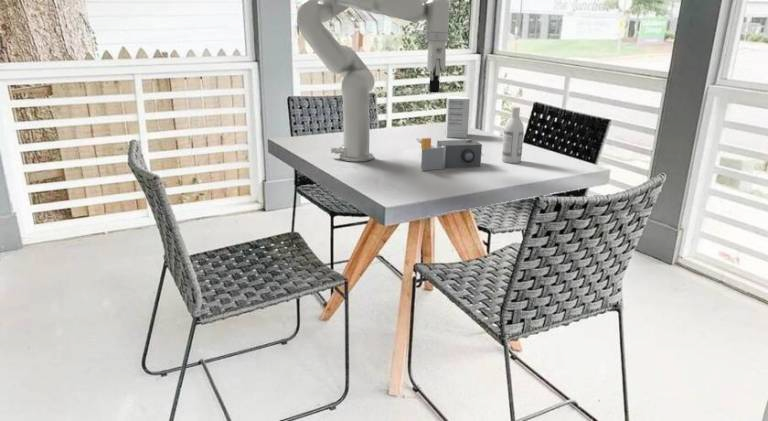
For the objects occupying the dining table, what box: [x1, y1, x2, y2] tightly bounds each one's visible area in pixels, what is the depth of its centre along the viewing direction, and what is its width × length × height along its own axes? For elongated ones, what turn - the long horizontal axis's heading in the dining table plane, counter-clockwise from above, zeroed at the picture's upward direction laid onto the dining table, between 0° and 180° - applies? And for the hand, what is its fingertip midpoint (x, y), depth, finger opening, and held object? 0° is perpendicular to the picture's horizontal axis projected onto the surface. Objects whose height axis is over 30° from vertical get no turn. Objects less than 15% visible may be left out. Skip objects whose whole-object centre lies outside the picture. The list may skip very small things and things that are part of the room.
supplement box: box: [444, 95, 471, 139], centre depth 258 cm, size 10×9×17 cm
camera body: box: [436, 138, 483, 169], centre depth 211 cm, size 14×10×9 cm
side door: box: [420, 137, 446, 172], centre depth 204 cm, size 1×9×11 cm, turn 115°
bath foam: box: [501, 106, 524, 164], centre depth 215 cm, size 7×7×20 cm
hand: (434, 91), depth 207 cm, fingers closed
